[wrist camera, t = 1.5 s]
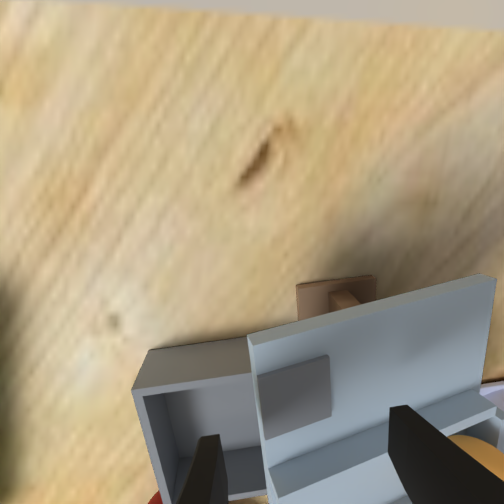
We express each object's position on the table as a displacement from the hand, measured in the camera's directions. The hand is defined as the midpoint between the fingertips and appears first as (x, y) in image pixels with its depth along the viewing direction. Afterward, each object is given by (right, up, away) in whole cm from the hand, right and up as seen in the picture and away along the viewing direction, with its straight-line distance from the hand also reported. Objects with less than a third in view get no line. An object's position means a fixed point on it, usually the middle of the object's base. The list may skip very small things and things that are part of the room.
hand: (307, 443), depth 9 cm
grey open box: (-3, -4, +11) cm, 12 cm away
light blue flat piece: (+4, -2, +4) cm, 7 cm away
